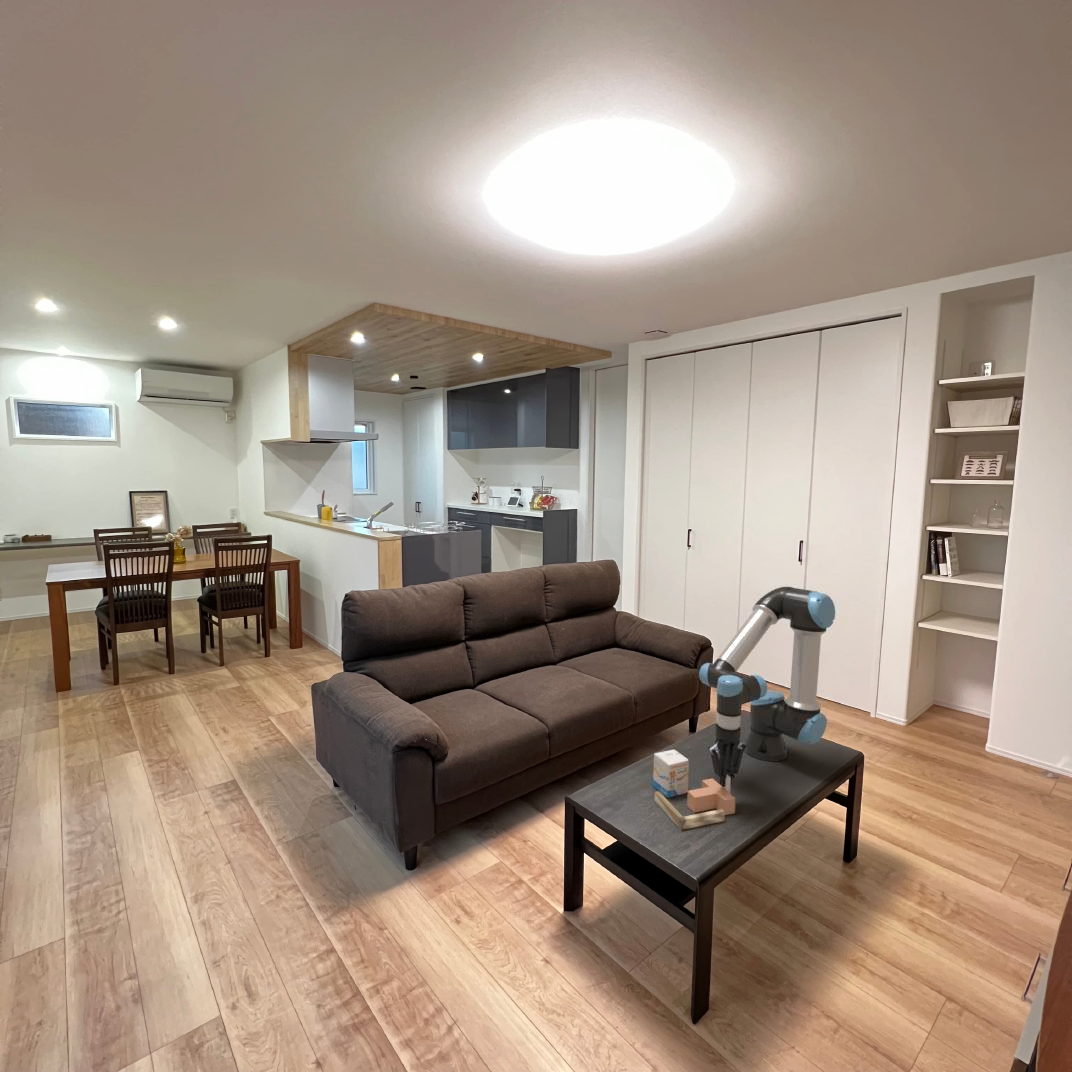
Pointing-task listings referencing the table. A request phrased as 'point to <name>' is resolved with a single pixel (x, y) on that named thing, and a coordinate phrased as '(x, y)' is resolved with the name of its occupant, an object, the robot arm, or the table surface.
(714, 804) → the t block
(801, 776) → the table surface
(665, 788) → the ink box
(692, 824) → the corner fence
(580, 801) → the table surface
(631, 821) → the table surface
